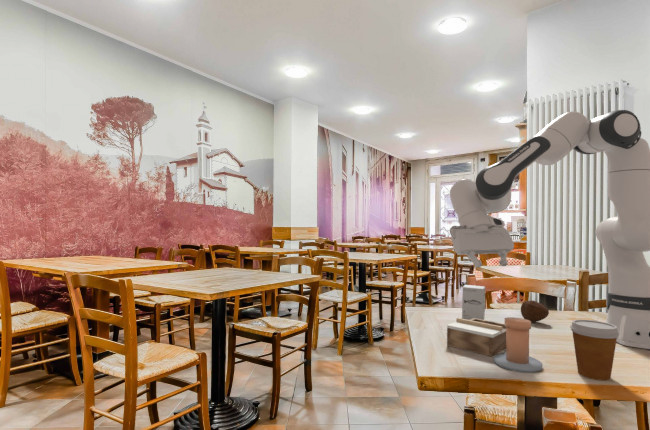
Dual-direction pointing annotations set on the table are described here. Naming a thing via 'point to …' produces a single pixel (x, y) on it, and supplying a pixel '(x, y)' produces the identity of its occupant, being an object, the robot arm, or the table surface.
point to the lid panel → (476, 327)
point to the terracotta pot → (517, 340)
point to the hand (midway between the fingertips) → (491, 265)
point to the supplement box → (473, 302)
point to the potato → (533, 311)
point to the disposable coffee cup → (594, 348)
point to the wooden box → (478, 340)
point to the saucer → (530, 367)
